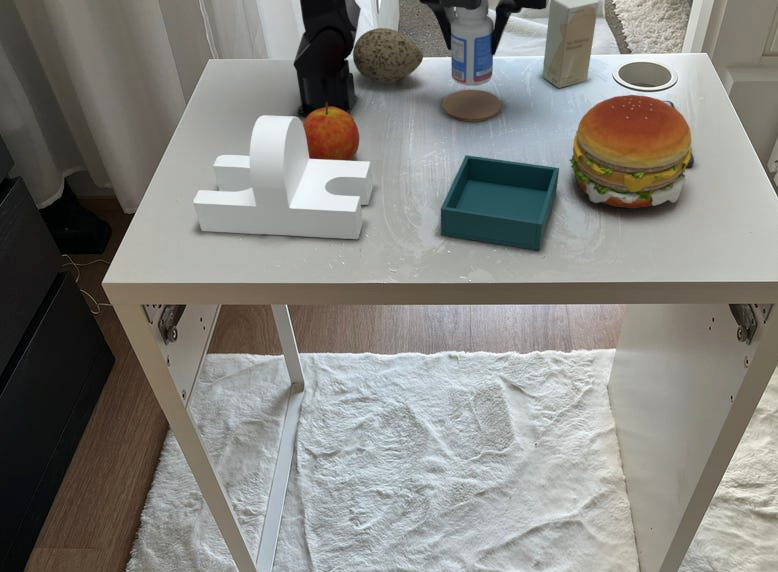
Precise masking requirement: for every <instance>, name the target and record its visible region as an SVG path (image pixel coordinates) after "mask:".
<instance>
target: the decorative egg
mask: <svg viewBox="0 0 778 572" xmlns="http://www.w3.org/2000/svg"><path fill="white" fill-rule="evenodd" d="M352 59H353V63H354V66H355V68H356V70H357V71H358V73H359V74H360V75H362V76H363V77H364V78H366V79H367V80H369V81H371V82H374V83H379V84H391V83H394V82H398V81H400V80H402V79H403V80H404V79H405V78H406V77H408V76H410V75H411V74H412V73H413V72H415V70H417V69H418V68H419V67H420V65H421V64H422V62H423V60H424V54H423V52H422V50H421V48H420V47H419V46H418V45H417V44H416V43H415V42H414V41H413V39H411V38H410V37H408V35H405V34H404V33H402V32H400V31H398V30H395V29H392V28H387V27H378V28H373V29H370V30H367V31H365V32H364V33H363V34H361V35H360V36H359V37H358V39H357V40H356V41H355V43H354V48H353V50H352Z"/></svg>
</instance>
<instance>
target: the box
mask: <svg viewBox="0 0 778 572" xmlns="http://www.w3.org/2000/svg"><path fill="white" fill-rule="evenodd" d="M598 9H599V1H598V0H549V9H548V21H547V29H546V39H545V49H544V56H543V57H544V59H543V65H542V78H544V79H545V80H547V81H548V82H549V83H550V84H552V85H554V86H555V87H556V88H558V89H560V88H565V87H568V86H573V85H576V84H580V83H584V82H587V81H588V75H589V68H590V63H591V62H590V61H591V55H592V49H593V48H592V47H593V43H594V42H593V41H594V37H595V29H596V21H597V15H598Z"/></svg>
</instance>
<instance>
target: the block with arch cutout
mask: <svg viewBox="0 0 778 572" xmlns="http://www.w3.org/2000/svg"><path fill="white" fill-rule="evenodd" d="M212 168H213V172H214V176H215V181H216V183H217V188H218V190H206V189H205V190H204V189H199V190H198V191H197V193H196V195H195V197H194V199H193V200H192V202H193V206H194V210H195V213H196V216H197V220H198V223H199V227H200V231H202V232H215V233H216V232H217V233H231V234H247V235H248V234H250V235H251V234H252V235H273V236H292V237H309V238H324V239H325V238H326V239H327V238H328V239H344V240H359V237H360V234H361V232H362V231H361V230H362V229H363V228H362V227H363V214H362V213H363V212H362V206H369V205H370V200H371V196H372V193H373V190H374V187H373V175H372V164H371V161H366V160H365V161H364V160H349V161H345V160H323V159H310V158H309V152H308V146H307V139H306V134H305V130H304V127H303V122H302V121H301V119H300V117H298V116H292V115H291V116H290V115H289V116H287V115H266V114H265V115H264V114H263V115H260V116H259V117H258V118H257V120H256V121H255V123H254V126H253V129H252V133H251V137H250V146H249V155H237V154H222V155H219V156H217V158H216V160H215V161H214V163H213V165H212Z"/></svg>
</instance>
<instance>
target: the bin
mask: <svg viewBox="0 0 778 572" xmlns="http://www.w3.org/2000/svg"><path fill="white" fill-rule="evenodd" d="M559 174H560V167H555V166H547V165H540V164H534V163H525V162H517V161H511V160H503V159H496V158H489V157H483V156H482V157H481V156H476V155H474V156H473V155H467V154H466V155H465V156H464V157H463V160H462V162H461V164H460V166H459V168H458V170H457V173H456V175H455V177H454V179H453V182H452V183H451V186H450V188H449V190H448V192H447V194H446V196H445V199H444V201H443V203H442V205H441V207H440V235H441V236H444V237H445V236H446V237H452V238H458V239H465V240H471V241H475V242H476V241H478V242H483V243H490V244H497V245H501V246H507V247H513V248H514V247H515V248H521V249H526V250H533V251H540V249H541V246H542V243H543V239H544V236H545V233H546V229H547V226H548V223H549V220H550V216H551V212H552V210H553V206H554V202H555V199H556V196H557V190H558V183H559Z"/></svg>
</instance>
